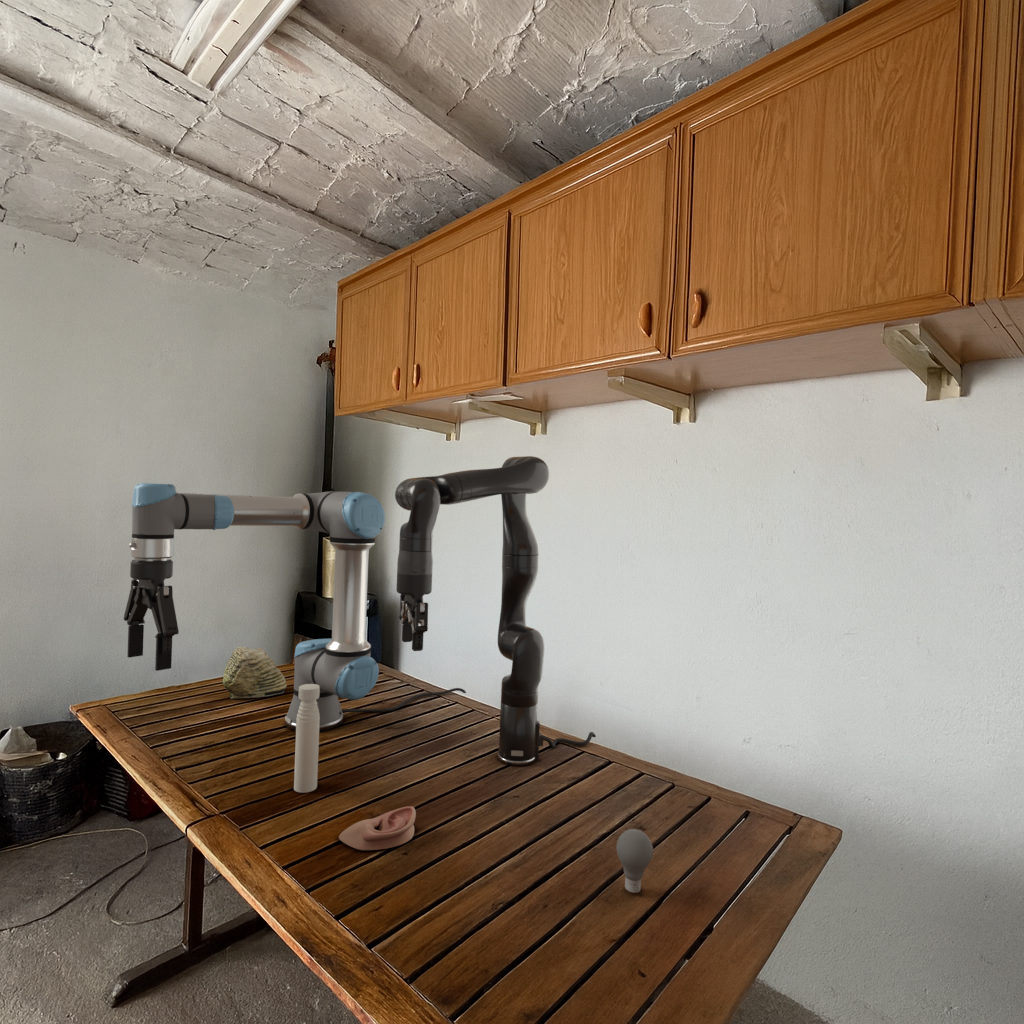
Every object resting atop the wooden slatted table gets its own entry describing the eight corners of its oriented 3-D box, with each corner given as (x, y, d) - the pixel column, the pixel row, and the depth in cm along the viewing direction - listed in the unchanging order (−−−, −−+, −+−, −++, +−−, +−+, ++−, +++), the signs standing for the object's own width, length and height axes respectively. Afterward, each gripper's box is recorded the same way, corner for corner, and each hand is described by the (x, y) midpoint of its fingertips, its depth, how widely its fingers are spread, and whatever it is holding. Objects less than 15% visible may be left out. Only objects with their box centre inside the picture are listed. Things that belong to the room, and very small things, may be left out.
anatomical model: (331, 824, 115) (359, 795, 126) (330, 845, 115) (358, 815, 126) (400, 835, 112) (422, 805, 124) (399, 857, 112) (421, 825, 124)
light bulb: (610, 879, 108) (613, 822, 108) (644, 879, 109) (647, 822, 109) (619, 902, 102) (622, 840, 102) (655, 901, 103) (658, 840, 103)
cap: (308, 693, 140) (308, 682, 140) (323, 696, 138) (324, 685, 138) (294, 698, 136) (294, 687, 136) (309, 701, 134) (310, 690, 134)
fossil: (218, 695, 195) (220, 647, 195) (278, 685, 208) (279, 640, 207) (228, 703, 189) (230, 653, 188) (289, 692, 201) (290, 645, 201)
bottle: (304, 780, 141) (308, 683, 140) (321, 785, 139) (325, 687, 138) (288, 789, 136) (292, 689, 136) (306, 794, 134) (310, 693, 134)
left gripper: (108, 554, 134) (104, 654, 134) (159, 565, 118) (155, 678, 119) (146, 552, 140) (143, 648, 140) (199, 563, 124) (195, 671, 124)
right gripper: (441, 575, 131) (438, 652, 132) (422, 567, 144) (419, 638, 145) (406, 575, 128) (403, 655, 129) (389, 567, 141) (387, 639, 142)
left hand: (148, 662), depth 129 cm, fingers open, 13 cm apart
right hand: (411, 645), depth 137 cm, fingers open, 8 cm apart
